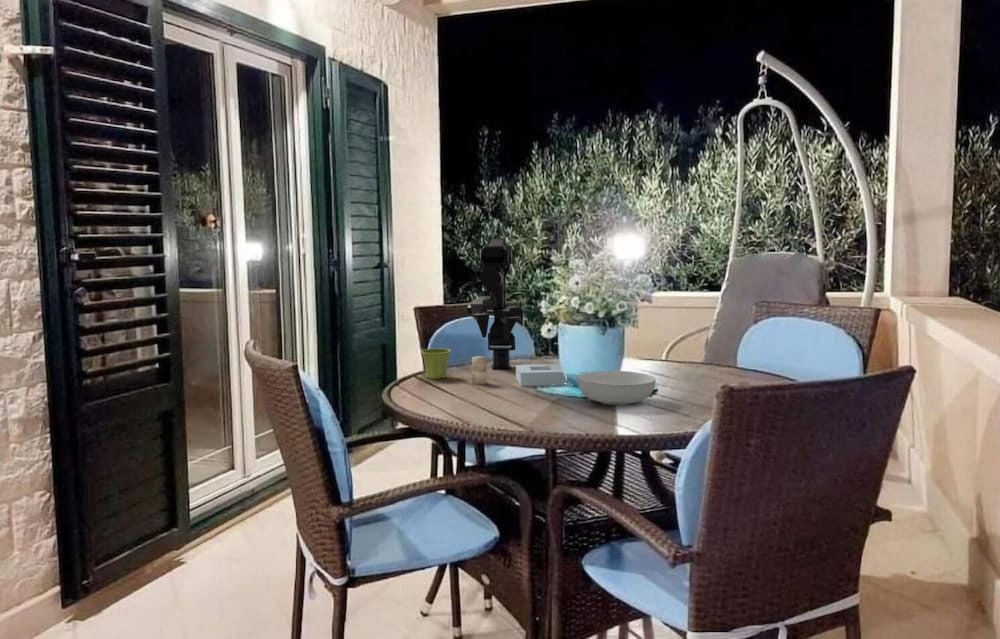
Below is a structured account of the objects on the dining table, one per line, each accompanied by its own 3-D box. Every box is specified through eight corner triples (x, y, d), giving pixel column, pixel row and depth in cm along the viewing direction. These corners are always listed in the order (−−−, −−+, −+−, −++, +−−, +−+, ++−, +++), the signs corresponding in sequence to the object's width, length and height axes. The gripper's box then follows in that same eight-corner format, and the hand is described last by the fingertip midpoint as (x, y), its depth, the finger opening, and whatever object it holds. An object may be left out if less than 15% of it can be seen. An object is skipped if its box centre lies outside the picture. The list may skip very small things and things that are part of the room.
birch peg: (471, 382, 244) (471, 356, 244) (486, 381, 245) (485, 356, 244) (472, 385, 240) (472, 358, 239) (487, 384, 240) (486, 358, 240)
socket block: (515, 377, 251) (515, 365, 251) (559, 376, 252) (559, 364, 252) (520, 386, 237) (520, 372, 237) (567, 384, 239) (567, 371, 238)
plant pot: (447, 380, 248) (446, 353, 247) (418, 379, 249) (417, 352, 248) (454, 375, 257) (453, 348, 256) (425, 374, 259) (425, 348, 258)
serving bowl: (637, 414, 200) (637, 387, 200) (563, 405, 211) (563, 379, 211) (666, 398, 218) (667, 374, 217) (597, 391, 229) (597, 367, 228)
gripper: (453, 287, 240) (454, 338, 241) (497, 290, 227) (498, 344, 228) (480, 285, 247) (480, 335, 249) (524, 287, 234) (524, 340, 236)
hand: (495, 338), depth 241 cm, fingers open, 9 cm apart
